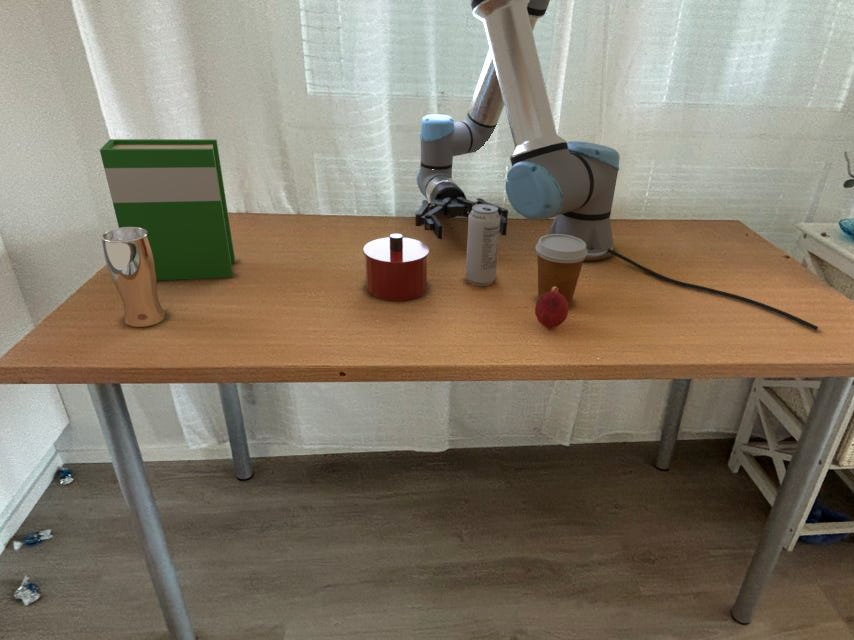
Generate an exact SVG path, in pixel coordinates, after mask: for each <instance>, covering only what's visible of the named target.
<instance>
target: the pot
mask: <svg viewBox="0 0 854 640" xmlns="http://www.w3.org/2000/svg"><path fill="white" fill-rule="evenodd" d="M364 260H365V283H366V284H365V285H366V291H367V292H368V293H369V294H370V296H373V297H374V298H377V299H379V300H383V301H391V302H405V301H411V300H414V299H417V298H420V297H422V296H423V295H424V294H425V293H426V292H427V287H428V256H427V257H426V258H425V259H423V260H421V261H419V262H415V263H411V264H403V265H392V264H383V263H379V262H375V261H373V260H370V259H368V258H367V257H366V256H365V255H364Z"/></svg>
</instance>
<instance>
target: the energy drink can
mask: <svg viewBox="0 0 854 640" xmlns="http://www.w3.org/2000/svg"><path fill="white" fill-rule="evenodd" d="M496 206H497V205H496ZM496 206H493V205H490V204H477V205H474V206H473V207H472V211H471V213H470V214H469V218H468V219H467V221H468V222H467V223H468V224H467V241H466V242H467V243H466V261H465V262H466V264H465V278H466V279H467V280H468V283H469V284H470V285H473V286H477V287H488V286H490V285H492V284H493V282H494V281H495V280H496V279H497V269H498V256H499V255H498V254H499V244H500V243H499V241H500V232H499V230H500V215H499V213H498V208H497V207H496Z"/></svg>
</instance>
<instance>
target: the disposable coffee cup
mask: <svg viewBox="0 0 854 640" xmlns="http://www.w3.org/2000/svg"><path fill="white" fill-rule="evenodd" d="M535 251H536V255H537V296H538V297H537V300H538V299H539V298H540V297H541V296H542V295H543V294H545V293H547V292H549V291H550V290H551V289H552V287H554V286H556V287H557V288H559V289H558V292H559V293H561V294H562V295H563V296H564V297H565V299H566V301H567V303H568V307H569V308H570V306H571V305H572V302H573V298H574V294H575V291H576V288H577V285H578V281H579V278H580V275H581V270H582V267H583V263H584V261H583V260H584V259H585V257H586V256H587V254H588V251H587V249H586V243H585V242H584V241H583V240H581V239H579V238H577V237H574V236H570V235H564V234H550V235H547V234H546V235H543V236H542V235H541V237H540V238H539V239H538V242H537V243H536V244H535Z"/></svg>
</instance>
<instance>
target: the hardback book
mask: <svg viewBox="0 0 854 640" xmlns="http://www.w3.org/2000/svg"><path fill="white" fill-rule="evenodd" d="M99 153H100V157H101V160H102V165H103V169H104V173H105V177H106V181H107V185H108V186H107V187H108V189H109V193H110V198H111V202H112V205H113V210H114V215H115V218H116V221H117V226H118V228H121V227H140V228H143V229H145V230H147V232H148V236H149V239H150V242H151V245H152V248H153V252H154V256H155V261H156V270H157V281H175V280H178V281H179V280H198V279H200V280H201V279H219V278H233V277H234V272H233V266H232V264H235V265H236V257H235V251H234V244H233V243H234V242H233V238H232V232H231V231H232V230H231V224H230V217H229V212H228V204H227V197H226V191H225V184H224V178H223V172H222V166H221V165H222V164H221V159H220V158H221V157H220V151H219V144H218V139H217V138H215V139H213V138H212V139H211V138H210V139H209V138H206V139H205V138H204V139H199V138H198V139H197V138H196V139H195V138H194V139H192V138H191V139H189V138H188V139H186V138H185V139H184V138H183V139H182V138H181V139H180V138H179V139H178V138H177V139H176V138H175V139H174V138H173V139H172V138H171V139H169V138H168V139H166V138H164V139H162V138H161V139H159V138H158V139H157V138H156V139H153V138H151V139H148V138H147V139H146V138H140V139H139V138H137V139H136V138H135V139H134V138H132V139H131V138H129V139H128V138H127V139H125V138H124V139H123V138H121V139H120V138H110V139H109V140H107V141H106V143H105V144H104V145H103V146H102V147H101V148H100V149H99Z"/></svg>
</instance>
